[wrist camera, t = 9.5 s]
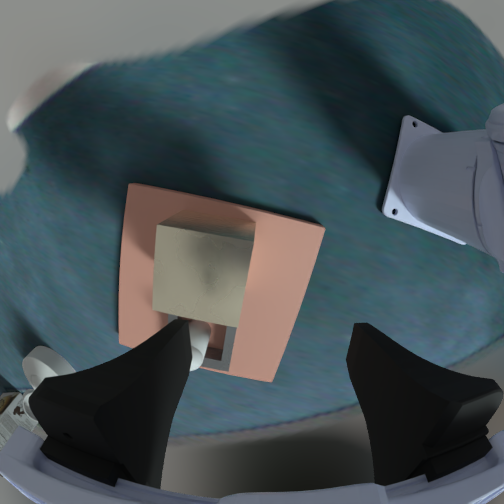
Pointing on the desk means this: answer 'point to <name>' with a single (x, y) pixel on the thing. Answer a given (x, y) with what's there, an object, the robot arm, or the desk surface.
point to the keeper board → (257, 286)
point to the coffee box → (12, 416)
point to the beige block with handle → (203, 273)
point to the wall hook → (42, 370)
